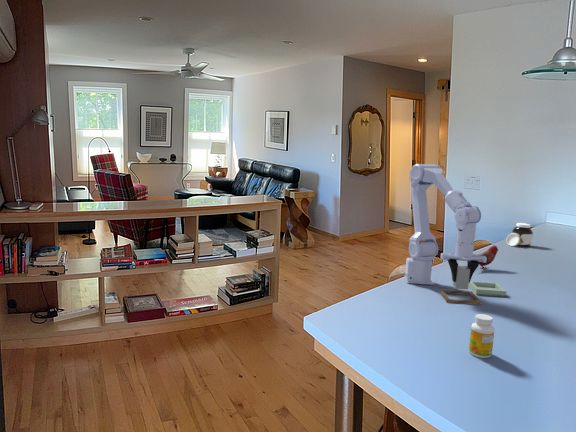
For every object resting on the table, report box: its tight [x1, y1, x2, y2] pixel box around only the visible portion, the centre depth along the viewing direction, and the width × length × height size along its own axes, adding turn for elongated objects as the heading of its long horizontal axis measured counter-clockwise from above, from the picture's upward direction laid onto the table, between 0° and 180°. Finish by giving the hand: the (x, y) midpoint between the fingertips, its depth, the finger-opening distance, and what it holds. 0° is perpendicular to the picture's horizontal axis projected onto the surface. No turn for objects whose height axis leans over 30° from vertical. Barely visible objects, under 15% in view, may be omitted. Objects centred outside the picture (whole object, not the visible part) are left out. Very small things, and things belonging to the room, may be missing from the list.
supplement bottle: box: [468, 313, 495, 359], centre depth 118 cm, size 5×5×10 cm
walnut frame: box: [438, 288, 482, 305], centre depth 161 cm, size 11×11×1 cm
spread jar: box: [505, 222, 534, 248], centre depth 251 cm, size 12×11×12 cm
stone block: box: [452, 265, 470, 290], centre depth 160 cm, size 4×4×7 cm
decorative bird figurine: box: [477, 245, 499, 270], centre depth 199 cm, size 3×18×10 cm, turn 112°
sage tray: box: [468, 280, 507, 298], centre depth 170 cm, size 10×10×2 cm
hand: (460, 281), depth 161 cm, fingers closed on stone block, 4 cm apart
